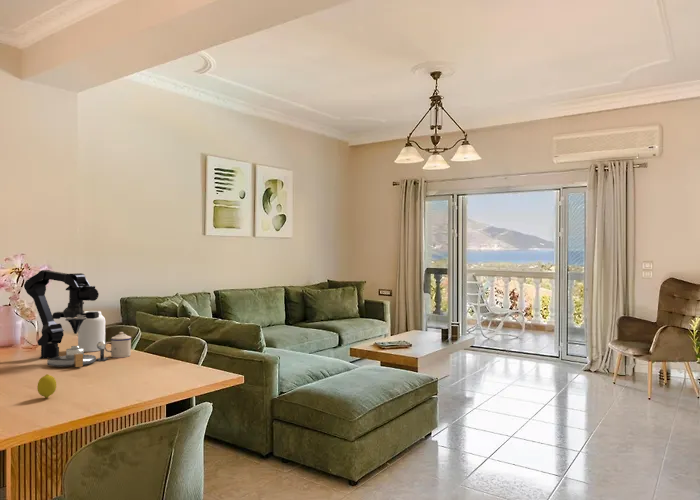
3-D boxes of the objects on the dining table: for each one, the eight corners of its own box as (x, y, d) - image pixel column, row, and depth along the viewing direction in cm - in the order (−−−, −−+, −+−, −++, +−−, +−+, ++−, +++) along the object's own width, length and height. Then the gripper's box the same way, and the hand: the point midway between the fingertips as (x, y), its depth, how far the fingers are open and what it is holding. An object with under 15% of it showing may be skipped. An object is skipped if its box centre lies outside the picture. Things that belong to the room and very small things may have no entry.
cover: (67, 360, 225) (67, 348, 225) (65, 357, 230) (65, 345, 230) (85, 358, 229) (85, 346, 229) (82, 355, 234) (82, 344, 234)
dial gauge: (95, 361, 235) (96, 341, 235) (99, 359, 239) (99, 340, 239) (105, 361, 235) (105, 341, 235) (108, 359, 239) (108, 340, 239)
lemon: (42, 395, 176) (42, 372, 176) (59, 395, 176) (59, 372, 176) (33, 400, 170) (34, 376, 170) (51, 400, 171) (51, 376, 171)
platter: (54, 369, 212) (54, 357, 212) (43, 361, 229) (43, 350, 229) (103, 364, 225) (103, 352, 225) (89, 356, 241) (89, 345, 241)
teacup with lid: (130, 353, 253) (130, 330, 253) (131, 357, 245) (132, 332, 245) (103, 355, 248) (104, 331, 248) (104, 359, 240) (104, 334, 240)
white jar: (110, 348, 268) (110, 310, 268) (93, 352, 256) (93, 312, 256) (89, 347, 271) (90, 309, 271) (72, 351, 258) (72, 312, 259)
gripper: (46, 301, 230) (46, 336, 230) (90, 301, 232) (89, 336, 232) (58, 299, 241) (57, 332, 241) (99, 299, 243) (99, 332, 243)
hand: (75, 333), depth 239 cm, fingers closed
